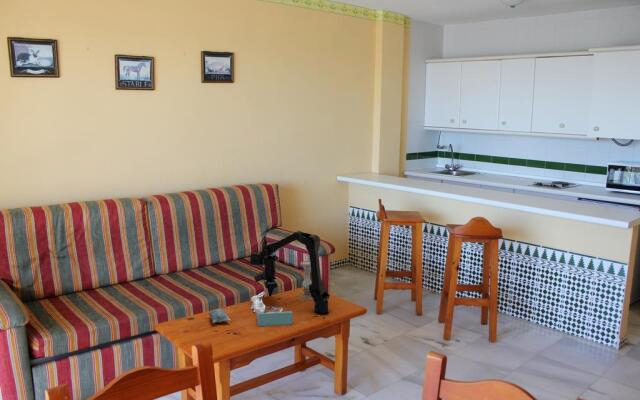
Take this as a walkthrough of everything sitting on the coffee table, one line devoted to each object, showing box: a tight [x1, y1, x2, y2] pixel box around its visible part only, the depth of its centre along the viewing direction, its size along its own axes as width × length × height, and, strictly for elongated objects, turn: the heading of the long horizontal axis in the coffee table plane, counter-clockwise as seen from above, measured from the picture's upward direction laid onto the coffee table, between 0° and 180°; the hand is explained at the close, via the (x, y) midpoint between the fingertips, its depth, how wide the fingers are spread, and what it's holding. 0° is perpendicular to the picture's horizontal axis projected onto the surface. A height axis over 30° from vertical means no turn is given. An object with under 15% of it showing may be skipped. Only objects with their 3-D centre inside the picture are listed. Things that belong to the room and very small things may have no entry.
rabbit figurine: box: [250, 291, 266, 314], centre depth 282 cm, size 12×8×10 cm, turn 29°
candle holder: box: [299, 260, 314, 301], centre depth 302 cm, size 9×9×20 cm
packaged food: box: [208, 308, 231, 324], centre depth 268 cm, size 9×12×5 cm
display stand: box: [256, 310, 293, 327], centre depth 268 cm, size 16×10×6 cm, turn 100°
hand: (269, 296), depth 293 cm, fingers closed
